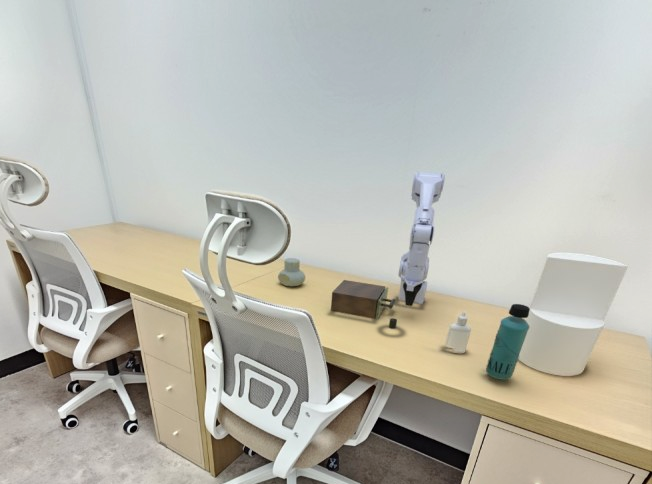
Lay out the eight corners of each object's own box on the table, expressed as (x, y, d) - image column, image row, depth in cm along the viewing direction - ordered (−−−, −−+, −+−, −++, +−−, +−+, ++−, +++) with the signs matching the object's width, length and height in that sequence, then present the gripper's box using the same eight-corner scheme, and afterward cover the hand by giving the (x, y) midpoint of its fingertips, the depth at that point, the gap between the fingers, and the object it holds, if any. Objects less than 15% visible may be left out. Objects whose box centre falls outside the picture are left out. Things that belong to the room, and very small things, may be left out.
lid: (404, 329, 125) (406, 317, 123) (401, 338, 119) (403, 326, 118) (382, 325, 127) (384, 313, 125) (378, 333, 122) (380, 321, 120)
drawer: (395, 308, 138) (399, 289, 135) (388, 323, 127) (391, 303, 123) (345, 299, 144) (347, 281, 140) (333, 313, 132) (335, 293, 129)
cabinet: (382, 307, 140) (385, 286, 136) (374, 322, 129) (377, 299, 125) (342, 300, 145) (343, 279, 141) (330, 314, 133) (332, 292, 129)
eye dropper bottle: (461, 356, 111) (471, 317, 105) (441, 350, 114) (451, 311, 108) (466, 351, 114) (477, 313, 108) (447, 344, 117) (457, 307, 111)
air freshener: (308, 285, 158) (309, 260, 153) (294, 290, 152) (294, 265, 147) (289, 278, 164) (289, 255, 159) (274, 283, 159) (274, 258, 154)
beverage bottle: (503, 371, 104) (526, 300, 94) (515, 385, 99) (542, 311, 89) (479, 371, 104) (500, 300, 94) (490, 385, 98) (514, 311, 88)
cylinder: (512, 340, 121) (543, 249, 107) (576, 352, 115) (617, 257, 102) (517, 367, 106) (553, 266, 93) (590, 381, 101) (640, 276, 88)
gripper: (406, 256, 130) (400, 295, 136) (399, 268, 118) (392, 310, 124) (428, 259, 127) (421, 299, 134) (423, 272, 116) (415, 314, 122)
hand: (409, 305), depth 129 cm, fingers closed
